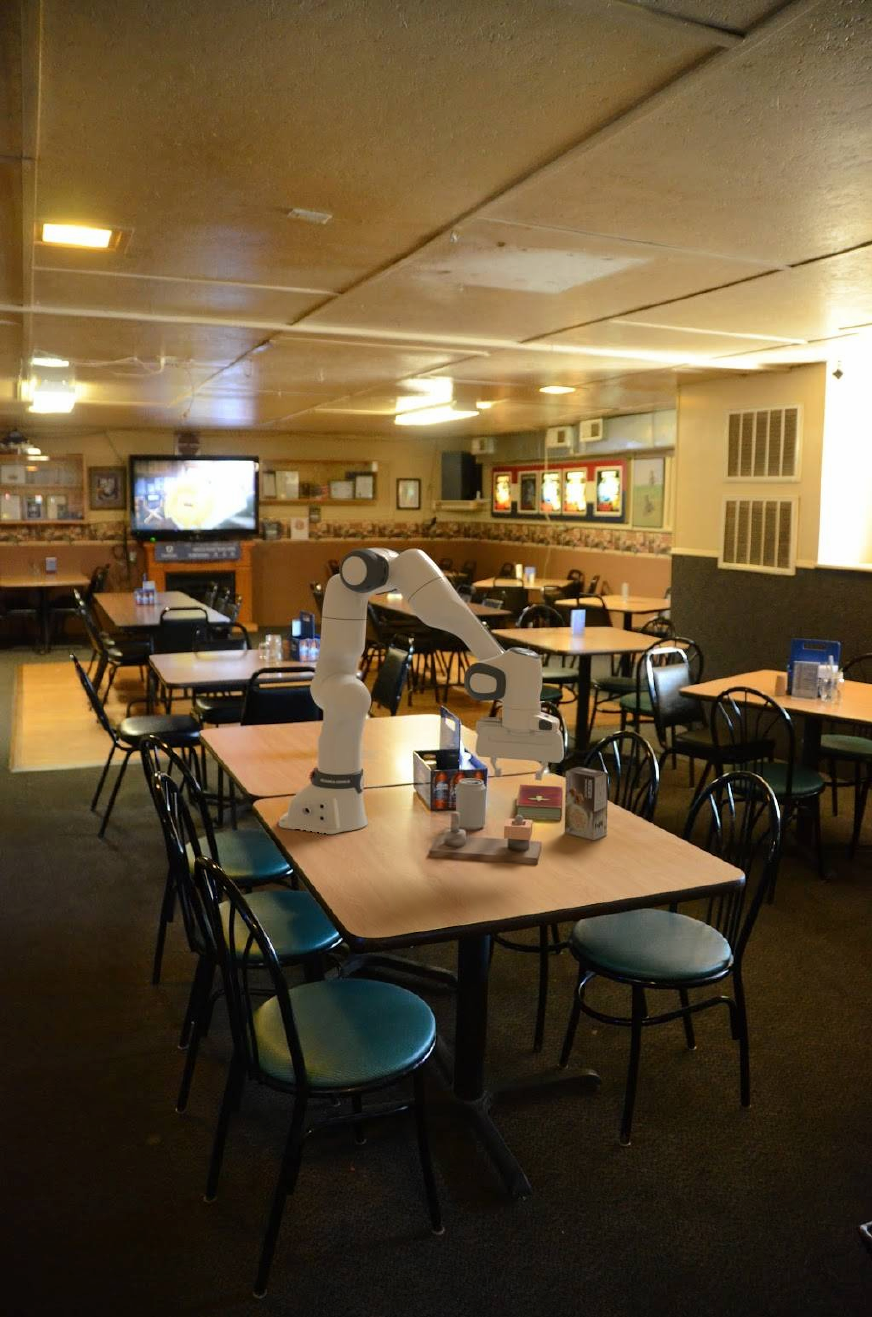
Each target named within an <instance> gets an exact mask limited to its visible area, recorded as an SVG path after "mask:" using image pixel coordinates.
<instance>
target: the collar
mask: <svg viewBox="0 0 872 1317" xmlns="http://www.w3.org/2000/svg"><path fill="white" fill-rule="evenodd" d="M514 824H515V818H506V821H505V822H504V826H503V827H504V828H503V839H519V840H529V841H531V838H532V835H533V819H525V818H523V825H514Z"/></svg>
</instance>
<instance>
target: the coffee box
mask: <svg viewBox="0 0 872 1317" xmlns="http://www.w3.org/2000/svg"><path fill="white" fill-rule="evenodd" d="M564 796H565V797H564V798H565V801H564V804H565V805H564V833H565V834H567V835H571V834H573V836H575V835H576V837H580V838H583V839H587V840H591V841H595V840H598V839H600V838H601V839H602V838H603V837H605V836H607V835H608V832H607V831H608V828H607V827H608V804H609V803H608V801H609V800H608V799H609V798H608V797H609V772H607V771H601V770H596V769H592V768H589V767H588V768H587V767H583V766H577V767H573V768H571V769H570V768H569V770H566V771H565V794H564Z"/></svg>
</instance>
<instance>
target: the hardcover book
mask: <svg viewBox="0 0 872 1317" xmlns="http://www.w3.org/2000/svg"><path fill="white" fill-rule="evenodd" d="M563 794H564V792H563V787H562V786H561V785H560V786H559V785H558V786H557V785H555V786H554V785H536V784H519V789H518V794H517V799H516V804H515V807H516V808H517V815H521V816H522V817H523V819H531V818H545V819H544V820H551V819H559V820H558V821H562V818H563V798H564V797H563V796H564V795H563ZM517 815H516V816H517Z"/></svg>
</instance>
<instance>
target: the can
mask: <svg viewBox="0 0 872 1317" xmlns="http://www.w3.org/2000/svg"><path fill="white" fill-rule="evenodd" d="M486 796H487V787H486V785H485V784H484V780H482V779H480V778H476V777H475V778H472V777H469V778H468V777H467V778H461V779H460V780H458V784H457V785H456V796H455V797H456V802H455V805H456V806H455V807H456V808H455V812H459V813H460V818H459V829H463V830H465V831H466V830H467V831H476V830H480V829H482V828H483V827H484V826H485V825H486V802H487V800H486V798H487V797H486Z"/></svg>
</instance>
